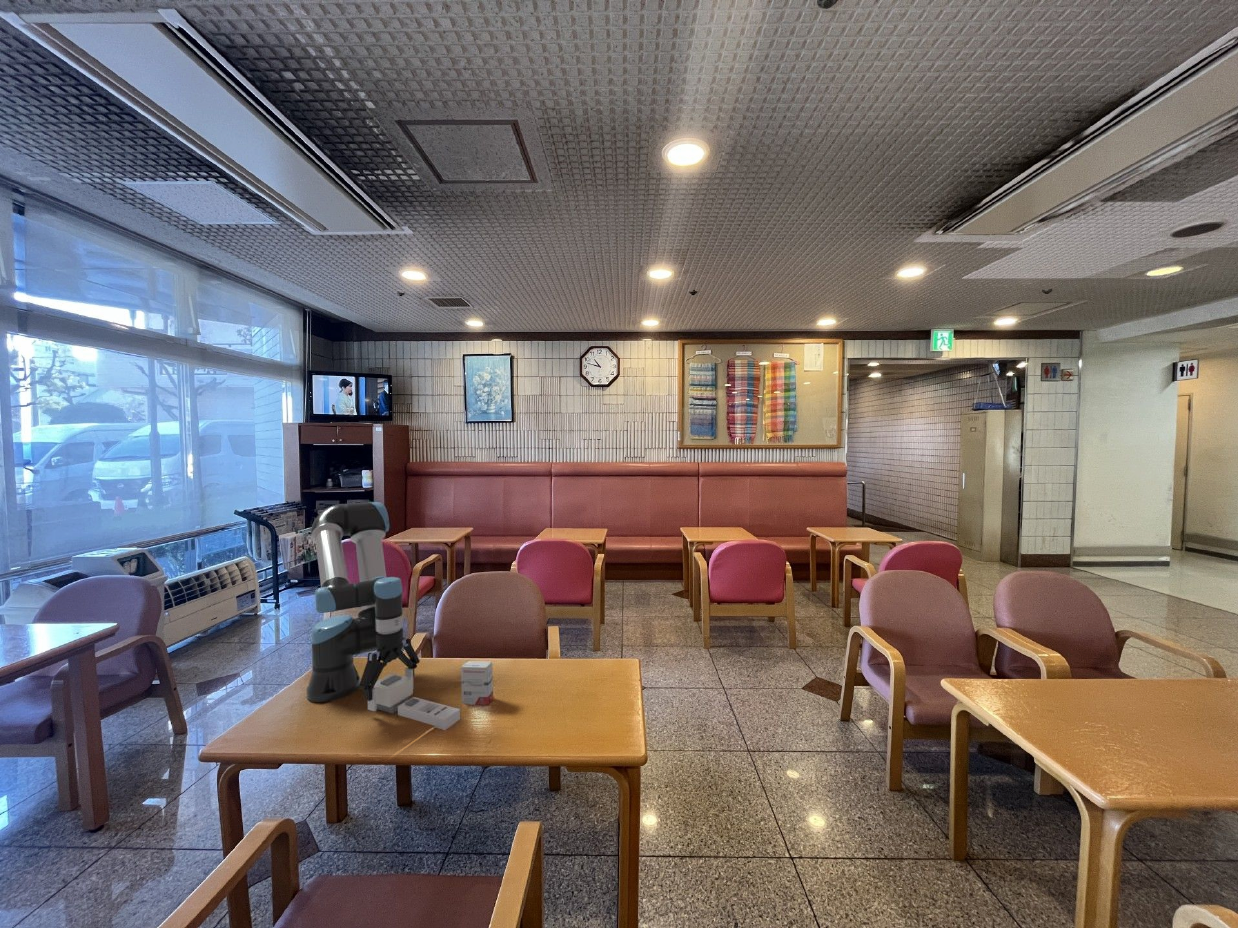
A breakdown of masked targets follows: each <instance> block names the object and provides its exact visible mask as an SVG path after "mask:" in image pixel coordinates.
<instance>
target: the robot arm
mask: <svg viewBox="0 0 1238 928" xmlns="http://www.w3.org/2000/svg"><path fill="white" fill-rule="evenodd" d="M389 520H390V519H389V514H388V511H387V508H386V506H385V505H384V504H383V503H382V502H379V501H368V502H356V503H339V504H333V505H331V506H329V507H326V508H325V509H324V510H323V511H321V512H320V513H319V514H318V515H317V516H316V518H315V519H314V520H313V523H312V525H311V529H310V535H311V536H310V537H311V540H312V542H313V543H314V544H315V549H316V555H317V564H318V571H319V580H320V587H318V588H315V590H314V604H315V607H314V608H315V611H316V613H318V614H327V613H334V612H338V611H344V610H350V609H353V608H355V609H356V608H360V609H359V611H358V612H357V617H356V618H354V617H352V616H353V615H350V614H339V615H335V616H331V617H328V618H325V619H324V620H321V621H319V622H318V623H317V624H315V625H314V626H313V627H312V628H311V638H310V644H311V668H312V669H311V670H312V671H311V676H310V678H309V681H308V686H307V688H306V698H307V700H308V701H310V702H311V703H327V702H332V701H334V700H339V699H341V698H344V697H347V696H349V695H351V694H353V693H354V692H356V691H357V690H361V691H364V693H365V694H364V695H365V700H366V701H367V711H371V712H376V711H377V710H378V709H377V706H376V688H374V686H375V684H376V682H377V681H378V680H379V679H380V676H381V674H382V672H383V669H384V668H385V667H386V666H387V665H388V663H391V662H393V661H395V660H400V662H401V663H403V664H404V665H405V666H406V667H405V668H404V676H407V677H411V678H412V681H413V682H414V677H415V669H417V667H418V664H420V659H419V657H418V655H417V652H416V651H415V649H414V647H413V645H412V639H411V638H409V637H404V629H403V626H404V616H403V614H404V613H403V586H402V579H401V578H399V577H396V576H390V577H389V576H388V577H387V573H386V572H387V571H386V563H385V555H384V548H383V539H384V538H385V537H386V533H387V532H389V530H390V521H389ZM345 536H349V538H350V542H352V543H354V544H355V548H356V559H357V568H358V569H357V570H358V579H359V582H358V581H357V582H353V583H349V577H348V572H347V571H348V570H347V566H346V559H345V554H344V553H345V552H344V548H343V543H342V538H343V537H345ZM402 648H403V649H404V651H405V653H404V651H402ZM366 653H368V654H367V659H366V661H367V662H366V664H365V667H364V668H363V669H364V670H363V673H362V676H361V678H360V675H359V672H358V670H357V668H356V666H355V662H354V656H358V655H362V654H366ZM406 654H407V655H406ZM413 690H414V687H413Z"/></svg>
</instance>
